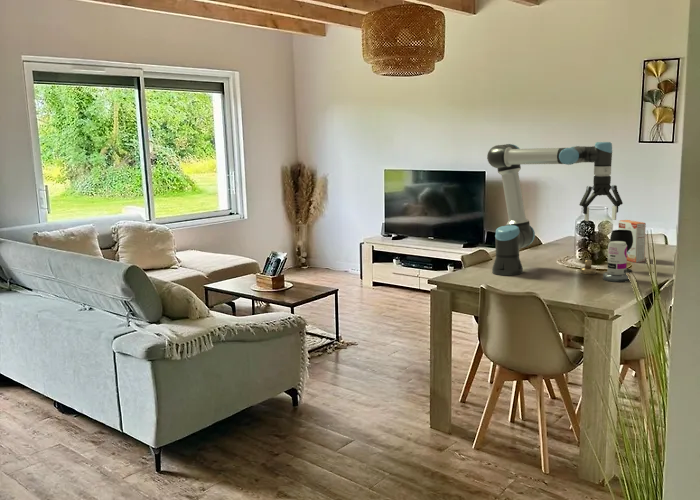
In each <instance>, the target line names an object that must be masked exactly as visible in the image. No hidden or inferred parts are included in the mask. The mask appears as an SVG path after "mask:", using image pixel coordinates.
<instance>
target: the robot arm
mask: <svg viewBox="0 0 700 500" xmlns="http://www.w3.org/2000/svg"><path fill="white" fill-rule="evenodd" d="M486 157H487V158H486V159H487V162H488V164H489V166H491V167H492V168H495V169H497V173H498V174H499V175H500V176H501V179H502V187H503V193H504V199H505V205H506V211H507V220H508V221H507V223H506V224H505V225H501V226H499V227H497V228H496V229H495V235H494V237H495V239H494V240H495V241H494V242H495V259H494V262H493V265H492V271H491V272H492V274H494V275H497V276H518V275H521V274H523V273H524V269H523V265H522V262H521V258H520V249H522V248H524V249H525V248H526V247H529V246H530V245H531V244H532V243H533V242H534V241H535V238H536V233H535V229H534V228H533V227H532V226H531V225H530V220H529V219H528V218H526V213H525V206H524V200H523V194H522V188H521V186H522V185H521V179H520V174H519V173H520V170H521V165H568V166H569V165H574V164H579V163H580V164H581V163H582V164H583V163H593V165H594V167H593V175H594V176H593V185H592V186H590V185H587V186H586V190H585V192H584V194H583V196H582V198H581V200H580V202H579V204H578V205H579V206H580V207H582V213H583V215H584V222H589V221H590V207H589V206H590V205H591V203H592V202H593V201H594V200H595V199H596V197H598V196H599V197H600V196H607V197H608V199H609V200H610V201H611V203H612V204H613V205H612V207H611V220H613V221H617V213H619V207H620V205H621V206H622V205H623V204H624V203H623V201H622V198H621V195H620V193H619V191H618V186H617V185H616V184H612V185H611V183H612V182H611V181H612V176H611V175H612V160H613V143H612V142H611V141H597V142H595V143H594V145H593V146H580V145H578V146H577V145H576V146H571V147H548V148H546V147H545V148H537V147H536V148H520V147H519V146H518V145H515V144H513V143H512V144H511V143H506V144H498V145H494V146H492V147H491V148H490V149H489V150H488V151H487V156H486ZM611 191H612V193H611ZM591 192H592V193H591ZM590 194H591V195H590ZM612 194H613V195H612Z"/></svg>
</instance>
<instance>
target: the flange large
mask: <svg viewBox="0 0 700 500" xmlns="http://www.w3.org/2000/svg"><path fill="white" fill-rule="evenodd" d="M626 273H628V272H626ZM626 273H625V274H624V275H611V274H609V273H608V272H607V271H605V272H603V273H602V280H603V281H606V282H612V283H626V282H625V281H628V282H630V281H629V279H628V276H627V275H626ZM629 274H631V272H629Z"/></svg>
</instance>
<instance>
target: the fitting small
mask: <svg viewBox="0 0 700 500" xmlns="http://www.w3.org/2000/svg"><path fill="white" fill-rule="evenodd" d="M592 264H593V263H592V259H585V260H584V266H582V267H580V274H581V275H585V276H586V275H588V276H591V275H596V274H597V273H596V272H597V268H596V267H594V266H592Z"/></svg>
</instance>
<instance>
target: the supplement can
mask: <svg viewBox="0 0 700 500" xmlns="http://www.w3.org/2000/svg"><path fill="white" fill-rule="evenodd" d="M627 262H628V261H627V244H626V242H624V241H611V242H610V241H609V243H608V244H607V267H606V268H607V270H606V272H608V273H609V274H611V275H624V274H625V273H626V268H627V266H628V263H627Z"/></svg>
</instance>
